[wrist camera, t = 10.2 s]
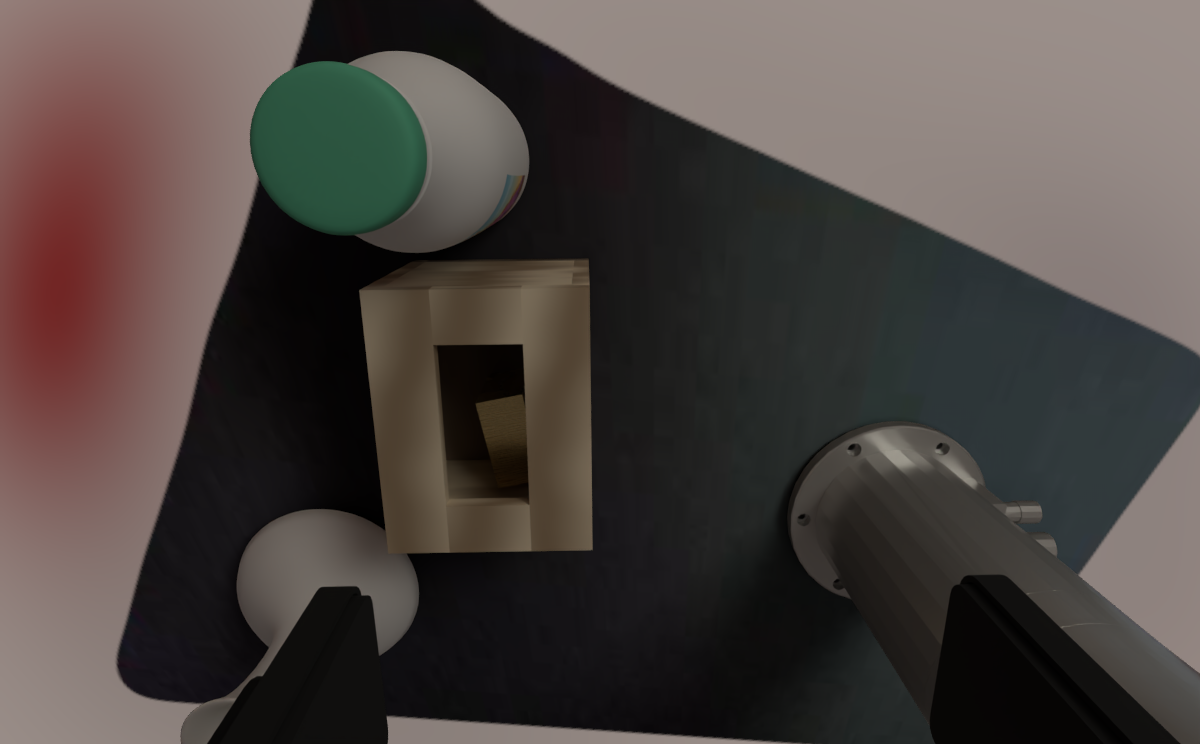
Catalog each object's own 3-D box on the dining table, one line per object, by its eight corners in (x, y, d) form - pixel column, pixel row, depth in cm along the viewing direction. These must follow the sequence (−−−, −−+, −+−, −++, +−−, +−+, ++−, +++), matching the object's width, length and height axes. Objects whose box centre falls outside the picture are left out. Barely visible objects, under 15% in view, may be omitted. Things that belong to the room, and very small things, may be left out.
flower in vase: (282, 658, 47) (-36, 1177, 23) (225, 513, 43) (-218, 940, 19) (467, 626, 46) (341, 1119, 22) (423, 477, 43) (220, 867, 19)
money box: (588, 258, 39) (589, 287, 30) (590, 464, 43) (592, 550, 33) (414, 260, 39) (359, 290, 29) (432, 467, 43) (388, 553, 33)
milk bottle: (378, 92, 36) (146, 8, 17) (520, 77, 36) (448, -25, 17) (404, 237, 39) (226, 305, 19) (538, 223, 38) (493, 278, 19)
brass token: (522, 394, 35) (543, 479, 37) (529, 367, 40) (547, 443, 42) (475, 403, 35) (498, 488, 37) (488, 375, 40) (508, 451, 42)
